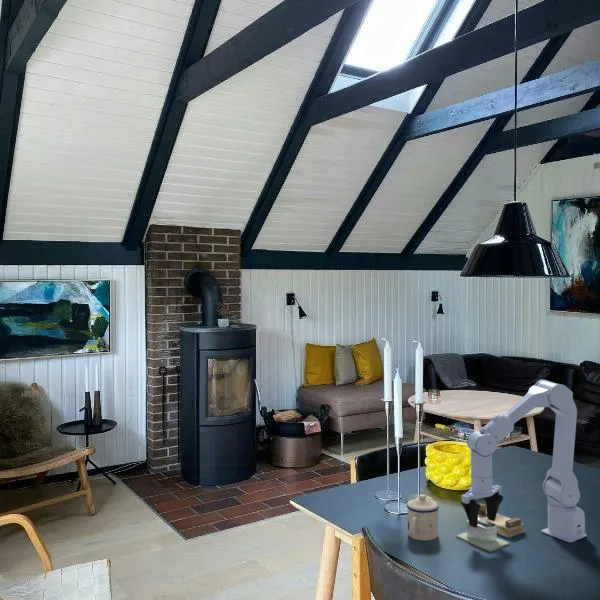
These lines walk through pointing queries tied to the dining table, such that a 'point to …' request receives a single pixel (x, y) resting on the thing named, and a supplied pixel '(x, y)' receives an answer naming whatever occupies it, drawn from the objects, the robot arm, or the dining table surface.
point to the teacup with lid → (422, 518)
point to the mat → (488, 547)
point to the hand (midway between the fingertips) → (482, 523)
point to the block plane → (503, 523)
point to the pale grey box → (482, 532)
